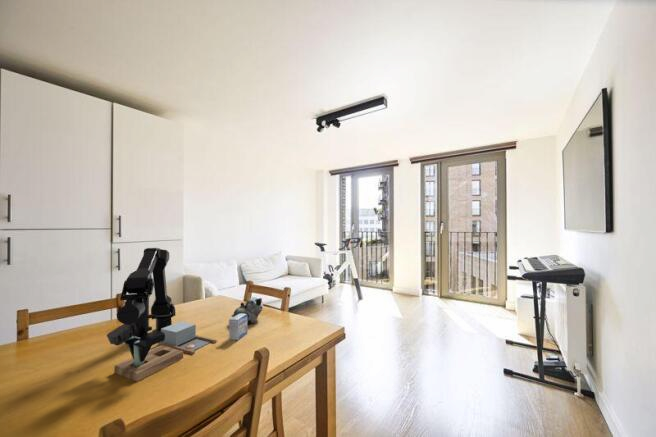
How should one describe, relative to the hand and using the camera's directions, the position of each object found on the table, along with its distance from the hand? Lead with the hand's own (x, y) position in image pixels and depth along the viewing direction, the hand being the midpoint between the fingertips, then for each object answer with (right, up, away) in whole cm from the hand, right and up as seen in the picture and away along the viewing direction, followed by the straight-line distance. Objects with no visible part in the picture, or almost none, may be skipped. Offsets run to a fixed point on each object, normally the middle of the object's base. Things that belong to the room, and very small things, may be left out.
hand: (138, 360), depth 91 cm
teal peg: (0, -3, 0) cm, 3 cm away
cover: (+1, -4, +23) cm, 23 cm away
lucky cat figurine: (+23, -4, +46) cm, 52 cm away
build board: (+2, -4, +4) cm, 5 cm away
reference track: (+6, -4, +20) cm, 21 cm away
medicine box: (+24, -4, +27) cm, 37 cm away
